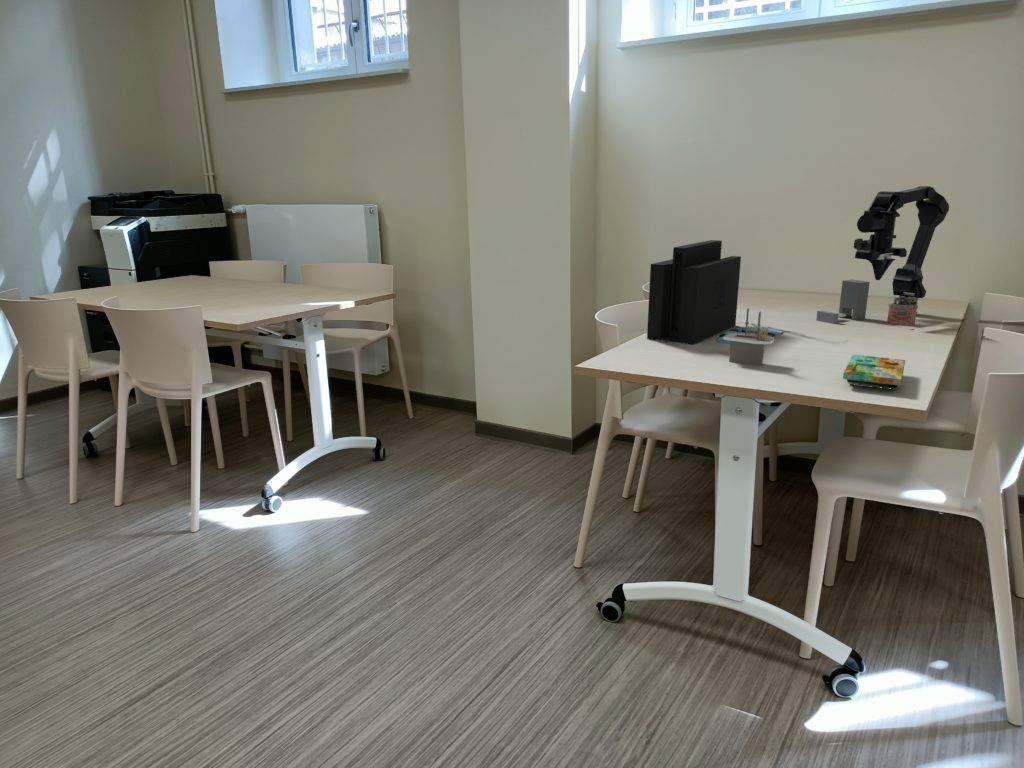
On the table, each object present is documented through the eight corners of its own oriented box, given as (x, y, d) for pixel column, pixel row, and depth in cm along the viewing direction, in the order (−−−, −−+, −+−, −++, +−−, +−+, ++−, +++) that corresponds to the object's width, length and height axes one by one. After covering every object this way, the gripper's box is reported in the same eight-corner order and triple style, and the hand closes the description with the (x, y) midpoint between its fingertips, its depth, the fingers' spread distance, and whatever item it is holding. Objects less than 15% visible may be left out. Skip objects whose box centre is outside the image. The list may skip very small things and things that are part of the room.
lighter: (885, 327, 237) (889, 296, 234) (886, 326, 239) (890, 294, 237) (914, 330, 233) (919, 298, 230) (914, 328, 236) (919, 296, 233)
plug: (848, 315, 249) (852, 279, 245) (864, 318, 243) (869, 281, 240) (838, 317, 246) (842, 280, 243) (854, 320, 241) (859, 282, 238)
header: (833, 318, 245) (834, 308, 244) (850, 321, 240) (851, 311, 239) (816, 320, 241) (817, 311, 241) (833, 324, 236) (834, 314, 235)
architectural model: (710, 350, 209) (714, 300, 205) (805, 361, 197) (810, 308, 193) (686, 366, 192) (690, 311, 188) (788, 379, 180) (794, 321, 176)
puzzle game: (905, 356, 181) (902, 375, 165) (902, 375, 183) (899, 396, 166) (852, 351, 187) (844, 369, 170) (850, 369, 188) (841, 389, 171)
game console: (693, 320, 249) (698, 238, 242) (786, 331, 232) (795, 243, 225) (647, 339, 222) (651, 247, 214) (748, 352, 205) (757, 253, 198)
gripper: (879, 228, 254) (873, 275, 258) (843, 231, 245) (837, 279, 249) (910, 231, 245) (904, 279, 249) (874, 233, 236) (867, 283, 240)
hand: (877, 280), depth 247 cm, fingers closed
